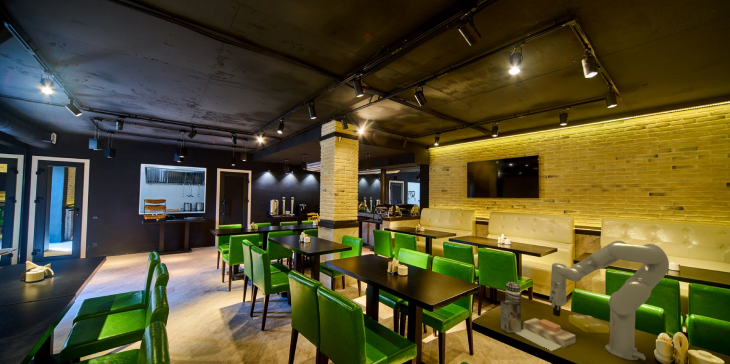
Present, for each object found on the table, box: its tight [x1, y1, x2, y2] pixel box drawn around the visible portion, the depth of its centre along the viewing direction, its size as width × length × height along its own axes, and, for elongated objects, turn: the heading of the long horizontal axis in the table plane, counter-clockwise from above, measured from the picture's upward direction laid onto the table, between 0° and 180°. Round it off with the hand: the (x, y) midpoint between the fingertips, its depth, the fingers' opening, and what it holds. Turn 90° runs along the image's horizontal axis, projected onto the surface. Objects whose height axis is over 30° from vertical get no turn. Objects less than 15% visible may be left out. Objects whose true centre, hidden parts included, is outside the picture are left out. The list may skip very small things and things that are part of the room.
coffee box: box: [499, 300, 522, 334], centre depth 164 cm, size 9×6×16 cm
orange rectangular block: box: [538, 318, 562, 333], centre depth 160 cm, size 9×6×2 cm, turn 29°
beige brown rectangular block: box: [522, 317, 577, 349], centre depth 159 cm, size 22×12×4 cm, turn 29°
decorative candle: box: [504, 281, 522, 304], centre depth 173 cm, size 9×9×25 cm
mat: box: [514, 329, 563, 352], centre depth 154 cm, size 20×10×1 cm, turn 29°
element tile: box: [568, 314, 610, 334], centre depth 172 cm, size 15×15×5 cm
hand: (556, 315), depth 165 cm, fingers closed
